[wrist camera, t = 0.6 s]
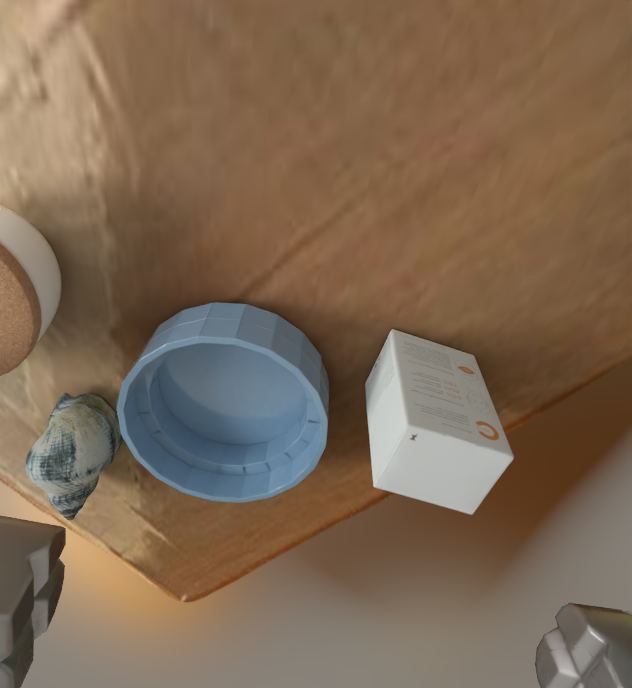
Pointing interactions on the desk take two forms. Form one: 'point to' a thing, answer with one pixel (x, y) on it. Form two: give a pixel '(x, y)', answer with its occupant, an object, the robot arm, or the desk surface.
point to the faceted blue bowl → (226, 403)
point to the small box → (433, 424)
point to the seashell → (74, 451)
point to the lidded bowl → (24, 288)
